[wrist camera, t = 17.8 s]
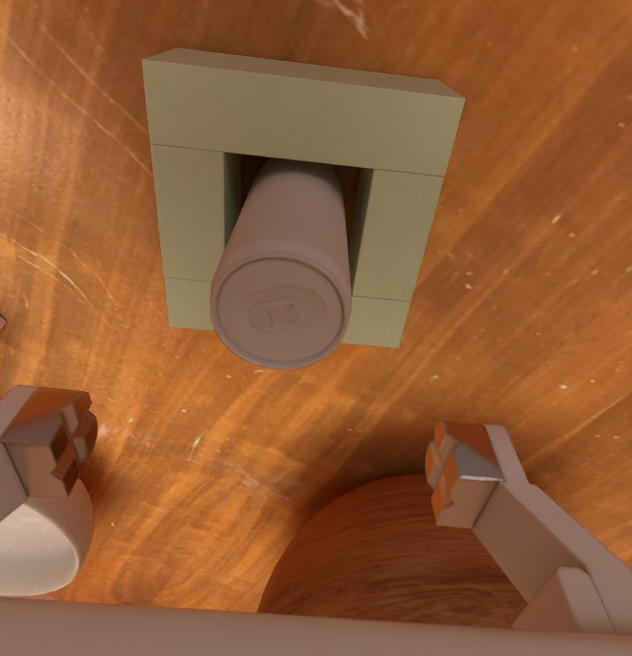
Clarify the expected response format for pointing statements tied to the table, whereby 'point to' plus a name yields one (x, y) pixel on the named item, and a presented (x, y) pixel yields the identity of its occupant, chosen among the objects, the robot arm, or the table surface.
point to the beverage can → (285, 269)
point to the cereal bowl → (45, 543)
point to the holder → (304, 145)
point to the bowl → (390, 564)
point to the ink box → (2, 322)
